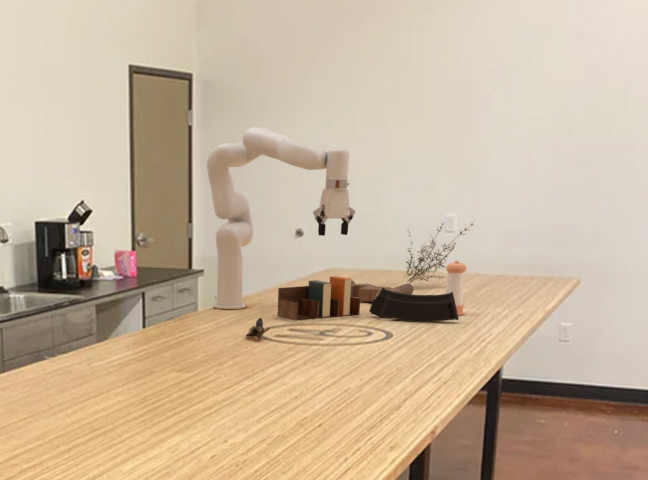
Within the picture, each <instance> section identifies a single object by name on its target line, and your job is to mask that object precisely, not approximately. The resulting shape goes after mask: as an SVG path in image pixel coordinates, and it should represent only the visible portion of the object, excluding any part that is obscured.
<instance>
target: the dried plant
mask: <svg viewBox="0 0 648 480" xmlns="http://www.w3.org/2000/svg"><path fill="white" fill-rule="evenodd" d="M474 222H475V220H473V222H472V221H471V222H470V225H469V226H468V227H466V225H464V230H460V231H459V234H458V235H457V236H456V237H455V238H454V239H453V240H452V241H451V242H450V245H449V243H448V244H447V245H446V243H444V244H440V245H441V247H442V251H440V249H437V251H436V249H435V248H436V247H437V245H438V243H437V242H436V238H437V236H438V234H436V235H435V238H434V237H433V235H432V234H430V237H432V238H431V239H432V240H430V241H429V243H430V245H427V247H426V243H424V245H423V247H422V246H419V248H420V251H419V250H417V253H419V254H420V255H419V254H417V264H415V263H416V261H415V260H413V259H414V258H415V257H414V255H415V254H414V253H412V249H411V248H410V247H407V252H409V253H410V259H408V257H407V260H408V261H405V263H406V264H408V265H407V267H406V274H405V275H404V277H407V276H408V277H409V279H407V281H406V283H408V284H411V283H412V282H414V281H418V282H420V281H421V282H422V281H426V282H429V281H431V279H430V278H432V279H436V278H437V275H435V274H432V275H429V274H430V273H435V272H436V273H437V272H438V269H441V270H443V269H444V268H447V265H446V266H445V265H444V264H445V263H447V258H448V256H449V254H450V253H451V252H453V251H454V249H455V245H457V243H455V240H456V239H457V238H458V237H459V236H461V235H462V236H465V235H466V233H463V232H467V231H470V229H469V228H470V227H471V226H474ZM439 224H441V225H440V226H439V227H438V226H437V228H436V230H437V233H440V232H441V231H442V229H444V227H443V225H444V226H445V224H446V222H444V221H442V222H441V223H439ZM407 232H408V234H407V235H408V237H411V232H410V230H409V229H407ZM451 244H452V245H451ZM410 245H413V240H412V239H411V240H410ZM408 249H409V250H408ZM430 249H431V250H430ZM433 251H434V252H433ZM446 251H447V254H445V255H444V256H443V254H442V252H444V253H446ZM432 253H433V254H432ZM428 260H429V261H428ZM443 261H444V262H443ZM435 262H436V263H435ZM419 266H420V267H419ZM425 266H426V267H425ZM432 268H434V270H432ZM410 270H411V271H410ZM413 272H414V273H413ZM426 273H427V274H428V275H427V274H426ZM444 278H446V279H448V276H443V275H442V276H441V275H438V280H441V279H443V280H444Z"/></svg>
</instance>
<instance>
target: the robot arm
mask: <svg viewBox="0 0 648 480" xmlns="http://www.w3.org/2000/svg"><path fill="white" fill-rule="evenodd" d="M241 139H242V140H241V141H239V142H223V143H221V144H219V145H217V146H215V147H214V148H213V149H212V150H211V152H210V153H209V154H208V157H207V161H206V171H207V176H208V181H209V186H210V192H211V198H212V205H213V210H214V213H215V216H216V217H217V218H219V219H221V220H227V221H228V222H226V223H224V224H222V225H221V226H219V228H218V229H217V231H216V233H215V244H216V252H217V282H216V283H217V284H216V285H217V286H216V287H217V291H216V292H217V293H216V295H215V296H214V299H215V300H216V302H215V303H213V304H212V308H214V309H220V310H238V309H239V310H240V309H245V308H246V307H247V304H246V303H244V302H243V272H244V271H243V270H244V269H243V267H244V266H243V265H244V264H243V263H244V259H243V252H242V247H246V246H248V245H249V244H250V243H251V242H252V241H253V238H254V237H253V236H254V228H253V227H254V226H253V221H252V215H251V211H250V204H249V202H248V200H247V197H245V196H244V195H243V194H242V193H240V192H235V187H234V180H233V178H232V175H231V173H230V171H229V169H230V168H240V167H244V166H246V165H248V164H249V163H251V162H253V161H255V160H256V159H258V158H259V157H261V156H265V157H268V158H271V159H274V160H278V161H280V162H283V163H285V164H288V165H290V166H293V167H297V168H299V169H304V170H307V171H316V170H317V171H318V170H326V171H325V186H324V187H325V188H323V189H322V192H321V195H320V200H319V207H318V208H315V210H313V211H312V214H313V217H314V220H315V221H316V222H317V224H318V226H317V227H318V229H317V230H318V231H317V234H318V236H321V237H324V236H326V228H327V227H326V226H327V225H326V222H327V220H328V219H340V220H341V221H342V222H341V224H340V234H341V235H344V236H348V233H349V224H350V223H351V221H352V220H353V219H354V216H355V213H356V210H355V209H354V208H352V207H350V194H349V189H348V186H350V182H349V181H348V178H349V177H348V176H349V162H350V161H349V160H350V151H349V149H347V148H341V147H339V148H338V147H336V148H335V147H333V148H329V147H328V148H327V147H323V146H322V147H321V146H319V147H318V146H308V145H303V144H300V143H298V142H294V141H292V140H291V139H290V137H289V136H287V135H285V134H281V133H278V132H273V131H272V130H271V129H269V128H268V127H261V126H253V127H250V128H247V130H245V132H244V133H243V135H242V138H241Z"/></svg>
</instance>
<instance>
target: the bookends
mask: <svg viewBox="0 0 648 480" xmlns="http://www.w3.org/2000/svg"><path fill="white" fill-rule="evenodd" d="M382 288H385V289H386V290H391V291H394V292H398V293H404V294H412V295H413V293H414V286H413V285H412V284H411V283H404V284H400V285H398V286H394V287H391V286H390V287H389V286H379V285H374V284H370V283H356V282H355V281H354V280H352V279H351V294H350V296H351V297H356V298H360V302H367V303H369V302H370V303H372V302H373V300H374V299H375V297H376V295H377V293H378V291H379V290H380V292H381V290H382Z"/></svg>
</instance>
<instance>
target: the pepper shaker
mask: <svg viewBox="0 0 648 480" xmlns="http://www.w3.org/2000/svg"><path fill="white" fill-rule="evenodd" d="M445 269H446V272H447V281H446V282H447V283H446V288H445V292H444V294H448V293H451V292H453V295H454V299H455V304H456V309H457V313H458V316H463V314H464V276H465V275H464V273H465V272H466V271H467V265H466V264H465V263H462V262H460V261H459V260H454V262H450V263H448V264H447V265H446V267H445Z"/></svg>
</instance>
